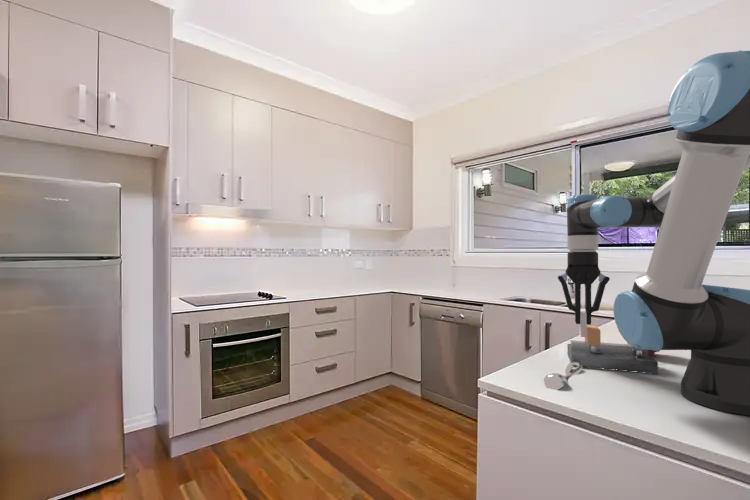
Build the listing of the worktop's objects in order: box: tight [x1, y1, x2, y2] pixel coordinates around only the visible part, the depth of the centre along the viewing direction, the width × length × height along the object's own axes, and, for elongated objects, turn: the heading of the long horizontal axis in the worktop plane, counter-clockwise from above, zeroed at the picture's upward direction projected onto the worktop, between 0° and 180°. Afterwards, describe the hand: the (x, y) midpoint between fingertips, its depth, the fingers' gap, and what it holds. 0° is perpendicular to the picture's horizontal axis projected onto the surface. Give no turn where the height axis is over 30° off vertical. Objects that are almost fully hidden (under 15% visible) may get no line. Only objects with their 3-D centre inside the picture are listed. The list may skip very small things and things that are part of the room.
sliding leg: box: [584, 325, 602, 352], centre depth 106 cm, size 7×3×6 cm, turn 158°
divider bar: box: [570, 339, 648, 357], centre depth 105 cm, size 6×18×6 cm, turn 68°
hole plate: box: [567, 343, 659, 375], centre depth 105 cm, size 13×19×3 cm
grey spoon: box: [543, 362, 583, 391], centre depth 93 cm, size 20×4×5 cm
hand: (583, 336), depth 107 cm, fingers closed
